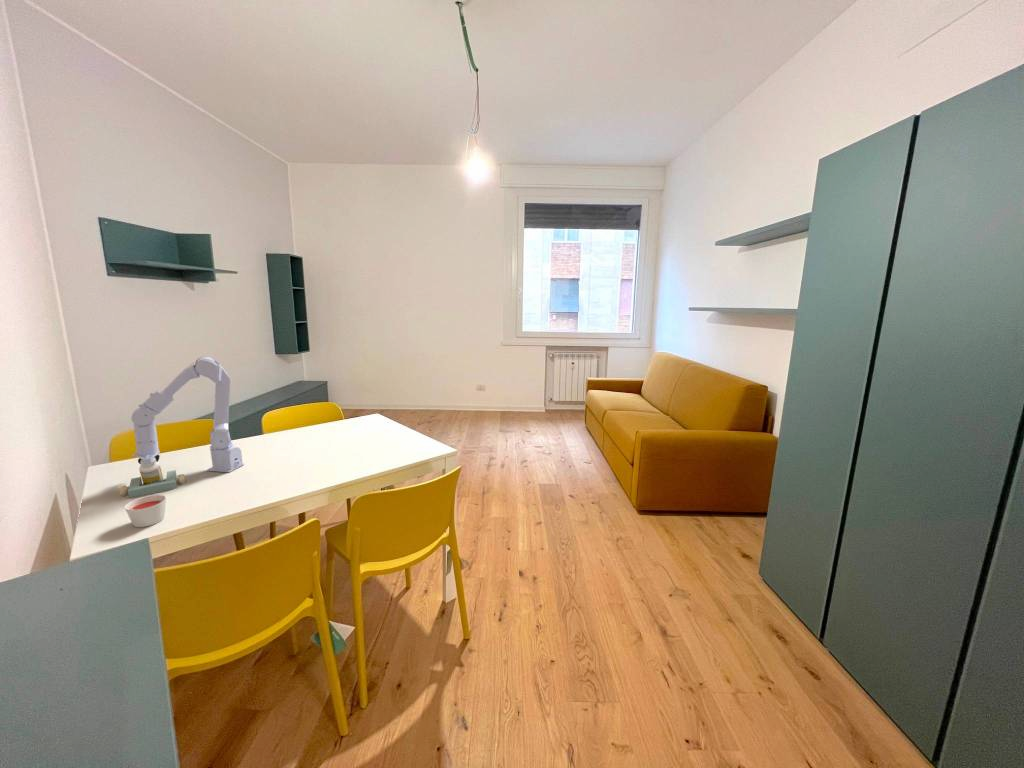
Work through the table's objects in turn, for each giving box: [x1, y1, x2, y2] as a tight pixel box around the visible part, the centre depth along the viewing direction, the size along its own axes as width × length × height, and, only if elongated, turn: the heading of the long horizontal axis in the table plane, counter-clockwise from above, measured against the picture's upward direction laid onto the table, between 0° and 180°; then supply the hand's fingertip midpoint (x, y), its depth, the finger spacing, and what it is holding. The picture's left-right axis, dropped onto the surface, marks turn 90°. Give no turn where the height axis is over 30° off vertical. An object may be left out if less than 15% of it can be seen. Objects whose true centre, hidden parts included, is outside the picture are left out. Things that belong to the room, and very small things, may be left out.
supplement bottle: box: [138, 458, 164, 486], centre depth 139 cm, size 5×5×10 cm
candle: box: [124, 494, 167, 528], centre depth 117 cm, size 9×9×6 cm
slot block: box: [118, 469, 186, 499], centre depth 139 cm, size 12×17×3 cm
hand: (151, 476), depth 142 cm, fingers closed, pressing on supplement bottle
